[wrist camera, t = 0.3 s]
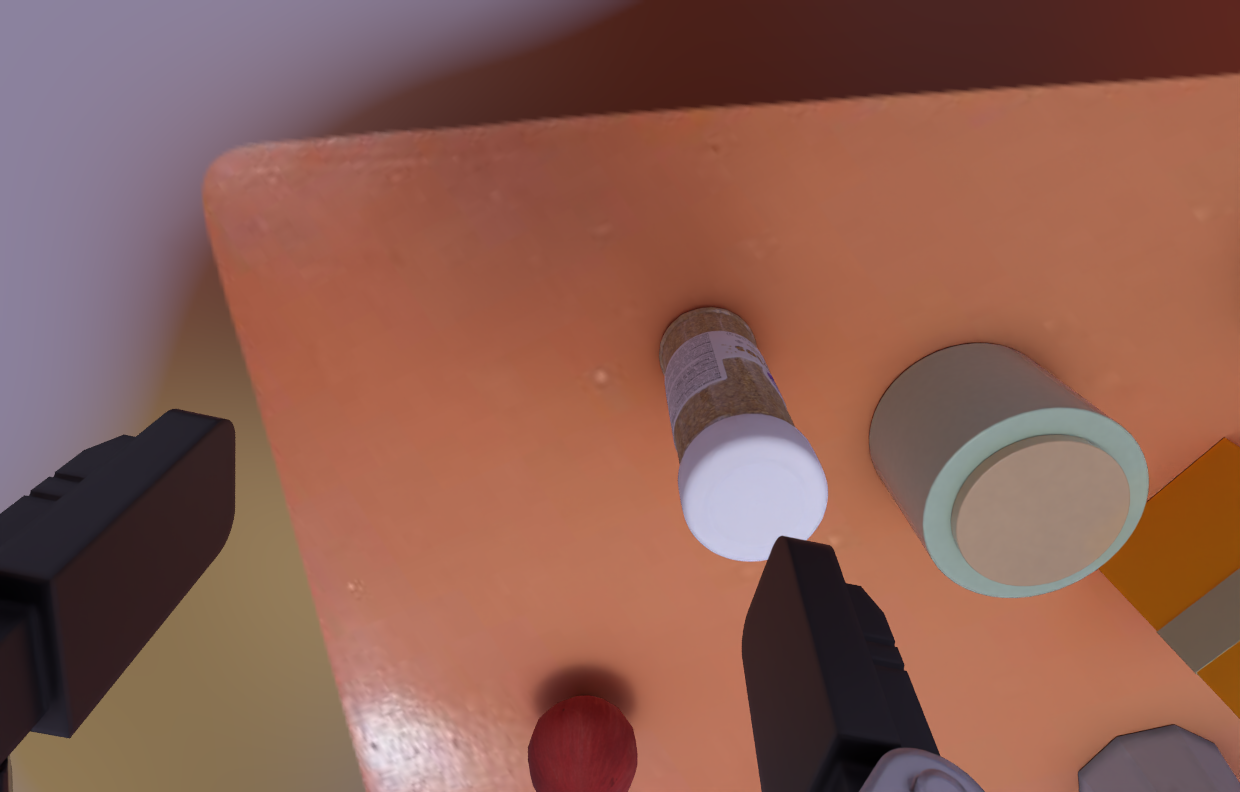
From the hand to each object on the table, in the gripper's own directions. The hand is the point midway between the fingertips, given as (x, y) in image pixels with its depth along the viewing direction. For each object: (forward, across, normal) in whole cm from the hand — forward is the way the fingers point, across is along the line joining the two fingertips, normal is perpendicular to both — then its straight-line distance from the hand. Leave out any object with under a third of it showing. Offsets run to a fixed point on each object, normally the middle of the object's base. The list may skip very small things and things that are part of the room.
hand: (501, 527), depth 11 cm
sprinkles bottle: (+24, -6, +6) cm, 26 cm away
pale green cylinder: (+25, -20, +7) cm, 32 cm away
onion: (+23, -5, +28) cm, 37 cm away
